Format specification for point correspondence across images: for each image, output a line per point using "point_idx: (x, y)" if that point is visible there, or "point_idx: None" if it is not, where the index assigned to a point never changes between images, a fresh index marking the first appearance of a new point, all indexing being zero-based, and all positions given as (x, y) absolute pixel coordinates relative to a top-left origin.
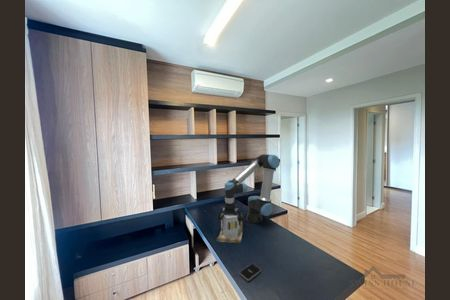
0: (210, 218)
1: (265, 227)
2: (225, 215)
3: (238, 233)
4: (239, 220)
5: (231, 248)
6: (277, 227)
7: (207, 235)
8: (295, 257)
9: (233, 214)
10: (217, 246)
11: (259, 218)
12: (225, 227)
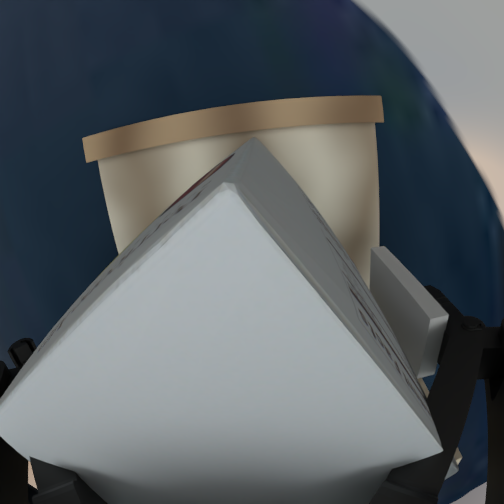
0: (465, 427)
1: None
2: (387, 440)
3: None
4: (23, 365)
5: (163, 24)
6: None
7: (481, 193)
8: None
9: (65, 493)
10: (323, 13)
11: None
12: (303, 196)
